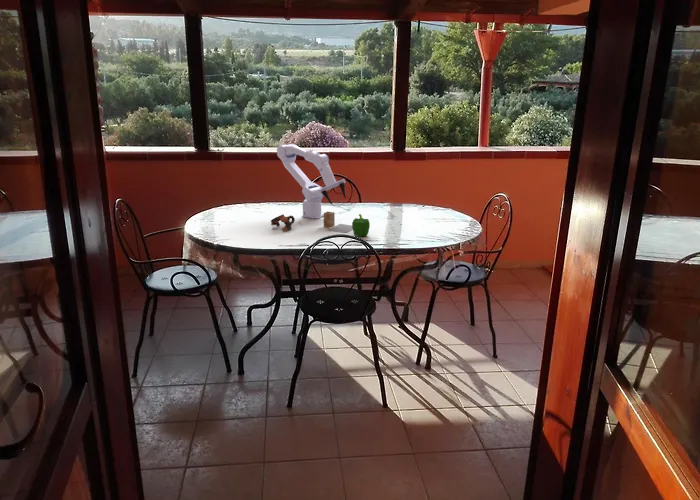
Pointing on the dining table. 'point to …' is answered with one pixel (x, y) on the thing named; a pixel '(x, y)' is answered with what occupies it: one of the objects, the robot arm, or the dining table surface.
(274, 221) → the brown irregular piece
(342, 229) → the slate mat
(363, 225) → the bell pepper
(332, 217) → the walnut block
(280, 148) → the robot arm
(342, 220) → the dining table surface
